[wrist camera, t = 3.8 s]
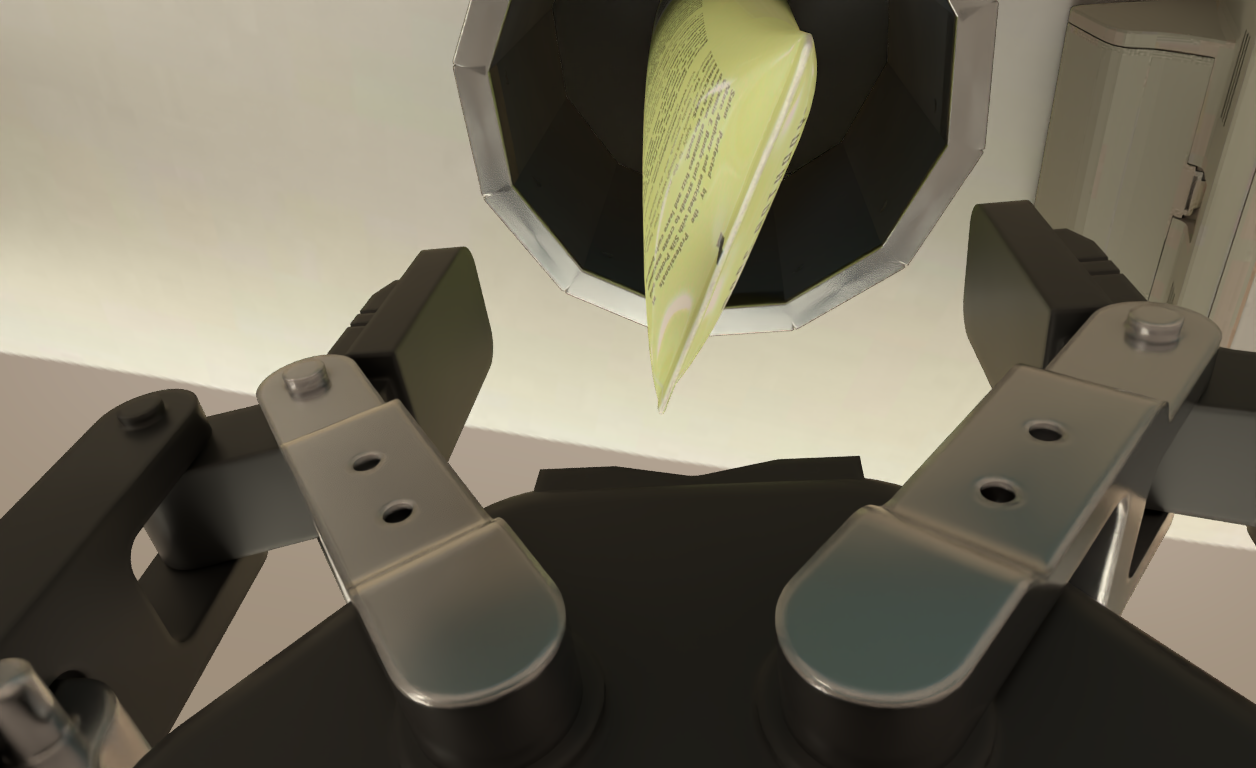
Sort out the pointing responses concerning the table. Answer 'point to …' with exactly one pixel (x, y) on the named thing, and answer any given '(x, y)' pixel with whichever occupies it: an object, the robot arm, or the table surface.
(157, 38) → the table surface
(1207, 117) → the digital clock
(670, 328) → the yellow elongated tapered cylinder
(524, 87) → the pail
